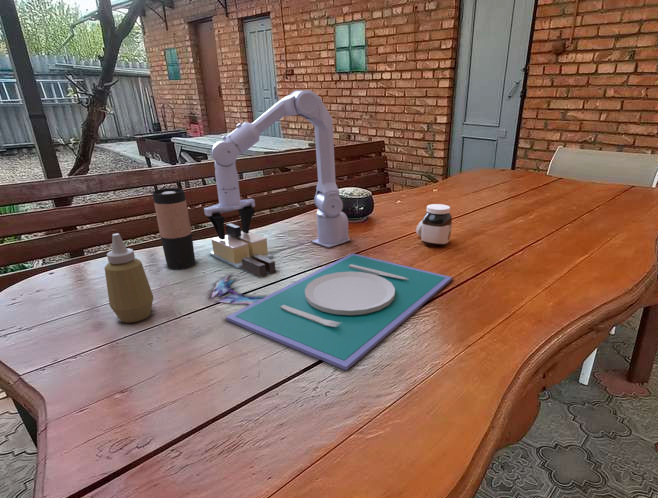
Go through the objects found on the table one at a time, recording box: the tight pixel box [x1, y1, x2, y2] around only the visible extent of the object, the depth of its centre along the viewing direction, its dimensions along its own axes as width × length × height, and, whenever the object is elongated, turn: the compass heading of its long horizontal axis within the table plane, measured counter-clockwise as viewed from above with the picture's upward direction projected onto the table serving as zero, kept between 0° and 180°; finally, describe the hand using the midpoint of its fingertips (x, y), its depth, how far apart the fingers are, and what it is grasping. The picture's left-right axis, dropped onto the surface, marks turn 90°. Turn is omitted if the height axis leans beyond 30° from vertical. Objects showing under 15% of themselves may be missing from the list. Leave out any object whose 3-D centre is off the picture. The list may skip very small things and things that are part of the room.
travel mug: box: [151, 187, 196, 270], centre depth 111 cm, size 8×8×20 cm
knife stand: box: [242, 254, 277, 278], centre depth 111 cm, size 5×8×3 cm, turn 47°
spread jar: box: [415, 203, 453, 248], centre depth 130 cm, size 12×11×12 cm
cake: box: [209, 230, 274, 269], centre depth 120 cm, size 11×15×5 cm
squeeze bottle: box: [104, 232, 154, 324], centre depth 85 cm, size 8×8×18 cm
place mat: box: [225, 252, 453, 371], centre depth 96 cm, size 45×30×2 cm
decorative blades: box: [211, 275, 265, 306], centre depth 99 cm, size 20×1×10 cm
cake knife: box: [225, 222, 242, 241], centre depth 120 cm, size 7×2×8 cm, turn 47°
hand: (234, 235), depth 120 cm, fingers open, 7 cm apart
